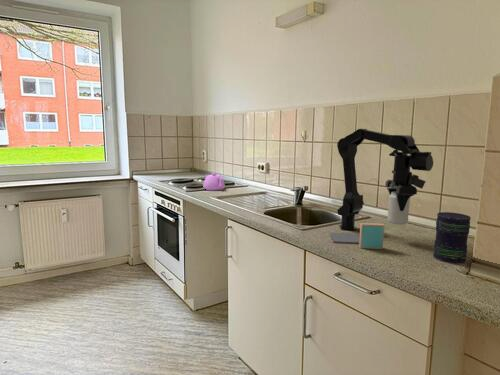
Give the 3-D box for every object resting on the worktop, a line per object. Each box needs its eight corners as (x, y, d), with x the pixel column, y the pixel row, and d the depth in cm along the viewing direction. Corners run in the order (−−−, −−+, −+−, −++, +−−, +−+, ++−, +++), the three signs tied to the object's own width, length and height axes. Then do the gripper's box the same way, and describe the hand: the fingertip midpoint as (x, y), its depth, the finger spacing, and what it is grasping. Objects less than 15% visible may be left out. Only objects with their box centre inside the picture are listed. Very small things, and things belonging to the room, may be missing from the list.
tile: (359, 246, 131) (360, 222, 130) (381, 247, 130) (383, 223, 129) (360, 248, 129) (362, 224, 127) (383, 249, 128) (384, 225, 126)
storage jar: (436, 251, 126) (440, 210, 124) (468, 257, 120) (473, 215, 118) (429, 259, 119) (433, 215, 116) (463, 266, 113) (468, 220, 110)
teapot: (231, 190, 252) (231, 173, 250) (213, 192, 242) (213, 175, 240) (214, 186, 269) (214, 170, 267) (196, 188, 259) (196, 172, 257)
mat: (329, 233, 147) (329, 232, 146) (359, 235, 145) (359, 233, 145) (333, 242, 135) (333, 241, 135) (365, 244, 134) (365, 242, 134)
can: (406, 221, 140) (408, 191, 138) (409, 226, 133) (412, 194, 131) (386, 219, 142) (388, 190, 140) (388, 224, 134) (390, 193, 133)
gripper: (434, 171, 124) (429, 215, 126) (415, 166, 142) (411, 204, 145) (401, 171, 125) (397, 214, 127) (386, 166, 143) (383, 203, 146)
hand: (398, 208), depth 136 cm, fingers closed on can, 7 cm apart
